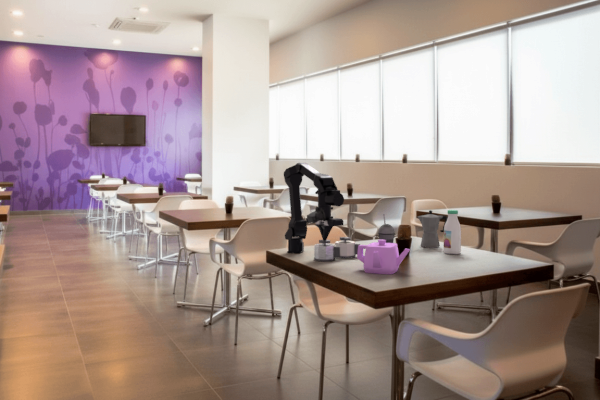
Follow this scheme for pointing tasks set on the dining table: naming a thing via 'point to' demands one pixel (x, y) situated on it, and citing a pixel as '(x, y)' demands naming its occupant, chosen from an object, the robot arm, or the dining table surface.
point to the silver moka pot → (326, 252)
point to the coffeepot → (430, 229)
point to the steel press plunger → (324, 241)
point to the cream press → (347, 248)
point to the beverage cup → (386, 232)
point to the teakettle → (381, 257)
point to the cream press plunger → (345, 239)
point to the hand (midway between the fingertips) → (324, 240)
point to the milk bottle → (452, 234)
